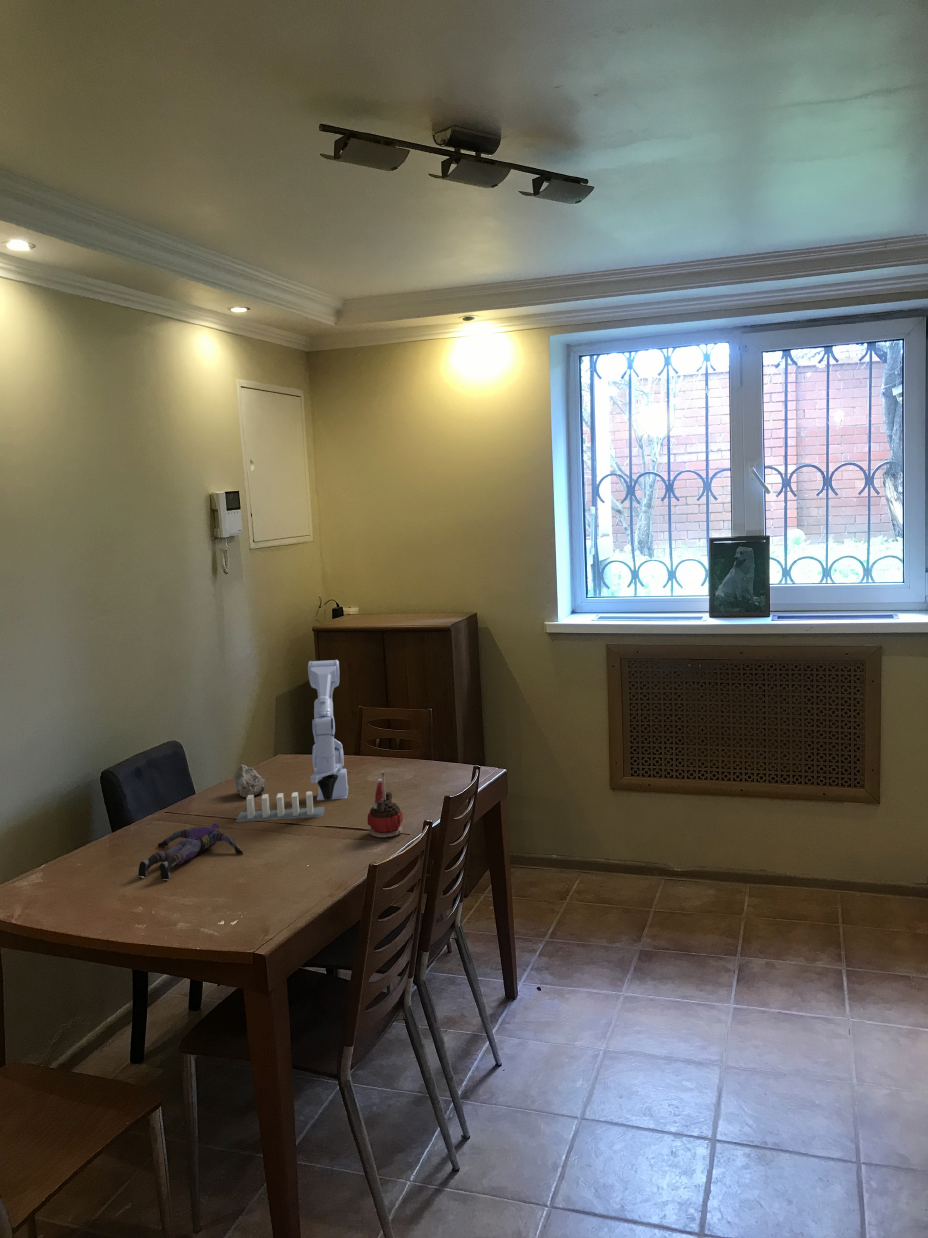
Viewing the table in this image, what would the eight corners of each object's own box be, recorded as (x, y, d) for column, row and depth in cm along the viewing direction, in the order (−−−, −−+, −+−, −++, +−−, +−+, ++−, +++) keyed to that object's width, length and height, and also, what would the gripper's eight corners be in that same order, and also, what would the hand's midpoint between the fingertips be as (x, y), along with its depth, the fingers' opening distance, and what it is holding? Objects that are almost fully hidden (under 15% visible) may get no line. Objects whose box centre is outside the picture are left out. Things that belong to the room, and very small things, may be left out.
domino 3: (284, 812, 296) (283, 793, 295) (283, 816, 292) (281, 797, 291) (279, 812, 296) (277, 793, 295) (277, 816, 292) (276, 797, 291)
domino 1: (254, 813, 295) (253, 795, 294) (253, 818, 291) (251, 799, 290) (249, 814, 295) (248, 795, 294) (247, 818, 291) (246, 799, 290)
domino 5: (313, 810, 296) (312, 791, 296) (312, 814, 292) (311, 795, 292) (308, 810, 296) (306, 791, 295) (307, 814, 292) (305, 795, 291)
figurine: (200, 889, 243) (260, 843, 271) (197, 866, 242) (258, 822, 270) (110, 879, 251) (177, 836, 279) (107, 857, 250) (175, 816, 278)
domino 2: (269, 813, 295) (268, 794, 295) (268, 817, 291) (266, 798, 291) (264, 813, 295) (263, 794, 294) (262, 817, 291) (261, 798, 290)
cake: (396, 840, 268) (393, 778, 266) (364, 839, 270) (361, 777, 268) (406, 827, 278) (403, 767, 276) (375, 826, 280) (372, 766, 278)
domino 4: (299, 811, 296) (298, 792, 295) (298, 815, 292) (296, 796, 291) (293, 811, 296) (292, 792, 295) (292, 815, 292) (291, 796, 291)
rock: (245, 809, 309) (264, 785, 309) (218, 786, 311) (237, 762, 310) (255, 803, 319) (273, 780, 318) (229, 781, 320) (247, 758, 319)
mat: (324, 808, 299) (324, 807, 299) (323, 817, 290) (322, 816, 290) (240, 813, 297) (240, 812, 297) (235, 822, 288) (235, 822, 288)
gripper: (326, 748, 301) (329, 790, 302) (300, 761, 287) (303, 805, 289) (346, 750, 298) (348, 793, 299) (321, 763, 285) (323, 807, 286)
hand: (327, 799), depth 294 cm, fingers closed
